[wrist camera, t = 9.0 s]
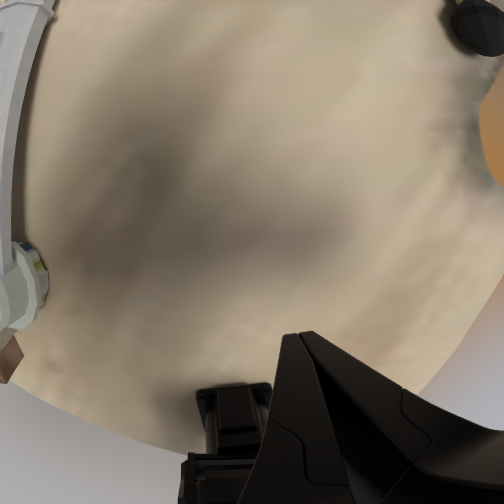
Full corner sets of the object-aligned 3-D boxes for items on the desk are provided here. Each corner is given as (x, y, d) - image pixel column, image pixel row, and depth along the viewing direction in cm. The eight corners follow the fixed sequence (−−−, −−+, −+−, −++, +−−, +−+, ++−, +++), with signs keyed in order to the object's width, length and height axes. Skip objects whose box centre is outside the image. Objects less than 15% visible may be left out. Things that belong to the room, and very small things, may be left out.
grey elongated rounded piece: (61, -48, 8) (16, 364, 13) (90, -3, 14) (56, 319, 19) (0, -26, 7) (-38, 346, 12) (36, 9, 13) (7, 309, 19)
